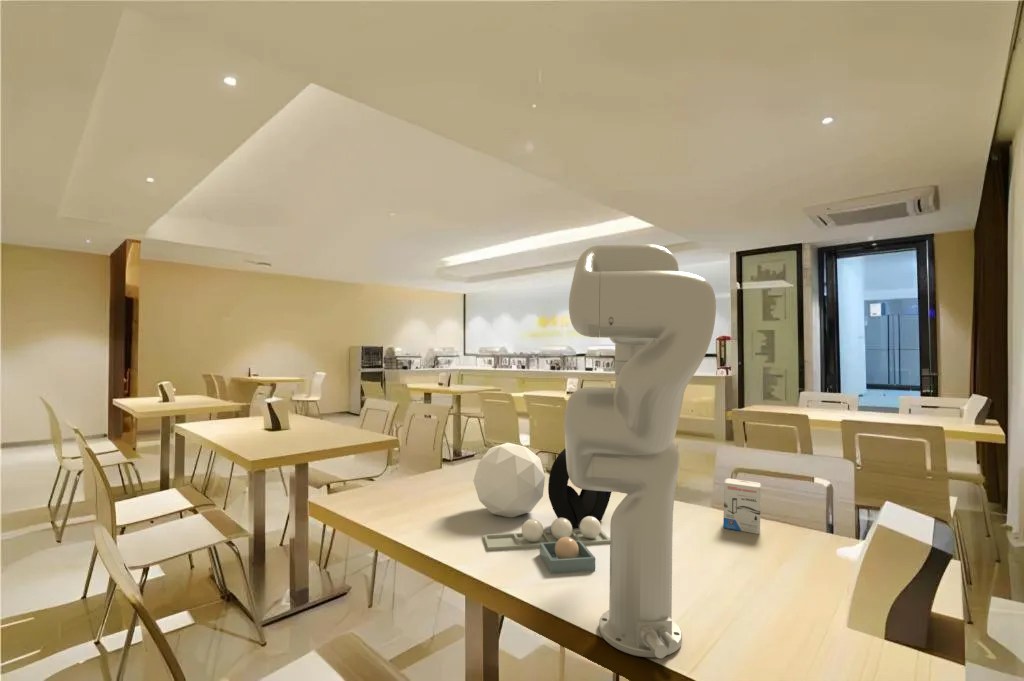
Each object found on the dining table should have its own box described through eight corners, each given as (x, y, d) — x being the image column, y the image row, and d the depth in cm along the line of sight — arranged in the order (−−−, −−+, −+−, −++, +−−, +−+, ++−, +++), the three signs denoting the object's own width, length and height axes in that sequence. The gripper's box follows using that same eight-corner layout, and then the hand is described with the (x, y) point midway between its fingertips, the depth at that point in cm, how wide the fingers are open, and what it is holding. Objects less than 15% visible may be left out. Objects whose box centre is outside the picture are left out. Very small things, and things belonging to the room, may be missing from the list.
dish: (595, 573, 98) (595, 558, 98) (550, 576, 97) (551, 560, 97) (580, 554, 107) (580, 540, 107) (539, 556, 106) (539, 542, 106)
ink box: (722, 528, 125) (723, 482, 125) (724, 522, 130) (724, 477, 130) (760, 534, 121) (760, 486, 121) (760, 528, 126) (761, 482, 126)
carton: (613, 546, 112) (613, 541, 112) (487, 554, 106) (487, 548, 106) (599, 532, 121) (599, 527, 121) (481, 538, 115) (482, 533, 115)
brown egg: (582, 565, 100) (582, 541, 100) (558, 567, 99) (558, 542, 99) (574, 556, 105) (574, 532, 105) (551, 557, 104) (552, 533, 104)
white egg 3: (604, 541, 114) (604, 519, 114) (583, 542, 113) (583, 520, 113) (596, 533, 119) (596, 512, 119) (576, 534, 118) (576, 513, 118)
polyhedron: (489, 540, 132) (449, 476, 136) (538, 500, 145) (501, 443, 149) (520, 524, 118) (475, 454, 122) (572, 482, 131) (529, 419, 135)
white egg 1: (545, 544, 111) (545, 522, 111) (523, 546, 110) (524, 523, 110) (540, 536, 116) (540, 515, 116) (519, 537, 115) (519, 516, 115)
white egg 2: (575, 543, 112) (575, 521, 112) (554, 544, 111) (554, 522, 111) (568, 535, 117) (568, 514, 117) (548, 536, 116) (548, 515, 116)
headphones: (564, 535, 118) (565, 452, 119) (545, 527, 123) (547, 447, 124) (614, 520, 130) (615, 444, 130) (595, 513, 135) (596, 440, 135)
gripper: (671, 371, 96) (671, 459, 96) (629, 368, 113) (628, 443, 112) (637, 371, 94) (636, 461, 94) (599, 368, 111) (598, 444, 110)
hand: (632, 451), depth 103 cm, fingers open, 9 cm apart
